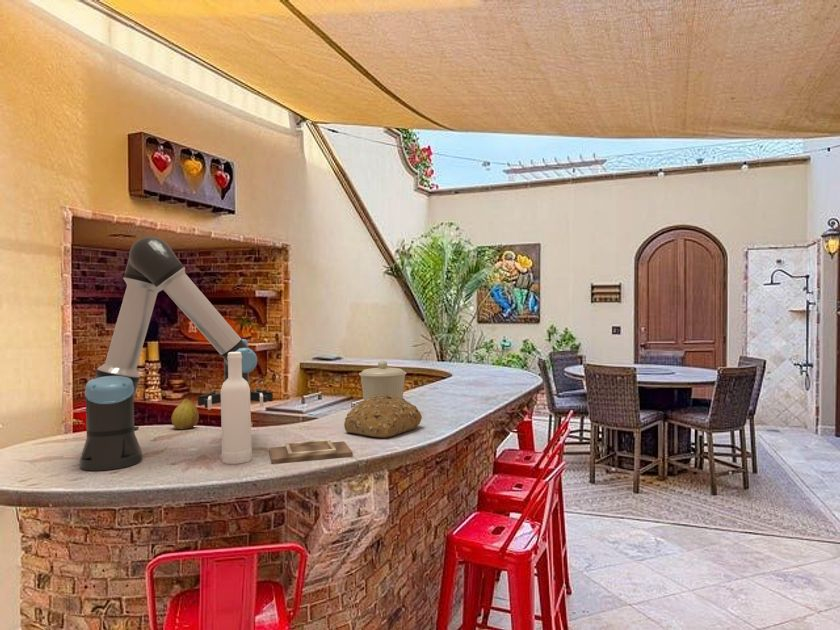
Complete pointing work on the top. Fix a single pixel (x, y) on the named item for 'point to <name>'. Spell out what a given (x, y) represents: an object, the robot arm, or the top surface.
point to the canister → (382, 381)
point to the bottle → (235, 414)
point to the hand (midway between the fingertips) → (235, 402)
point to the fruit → (185, 415)
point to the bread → (382, 417)
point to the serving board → (309, 451)
